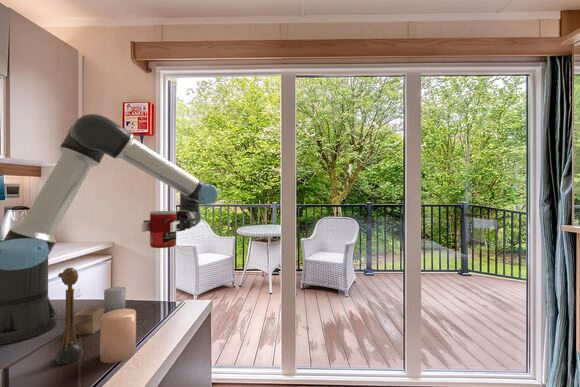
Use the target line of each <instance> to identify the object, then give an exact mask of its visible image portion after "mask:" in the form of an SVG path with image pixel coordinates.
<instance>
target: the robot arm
mask: <svg viewBox="0 0 580 387" xmlns="http://www.w3.org/2000/svg"><path fill="white" fill-rule="evenodd" d="M58 149H59V150H60V154H61V156H60V157H59V159H58V161H57V162H56V164H55V166H54V167H53V169H52V171H51V173H49V176H48V177H47V179H46V180H45V182H44V183H43V186H42V187H41V189H40V191H39V193H38V194H37V196H36V197H35V200H34V201H33V202H32V204H31V206H30V207H29V209H28V211H27V213H26V214H25V216H24V218H23V219H22V221H21V223H20V224H19V225H17V226H14V227H10V229H9V230H8V231H7V233H6V235H5V237H4V239H3V240H2V241H0V345H6V344H10V343H12V344H13V343H16V342H21V341H24V340H25V341H26V340H27V339H30V338H33V337H36V336H38V335H42V334H43V333H46V332H48V331H49V330H51V329H52V328H54V327H55V326H56V324H57V313H56V312H55V309H54V306H53V304H52V302H51V299H50V297H49V255H50V254H51V252H52V250H53V248H54V247H55V245H56V243H57V240H56V238H55V233H56V231H57V229H58V227H59V226H60V224H61V222H62V220H63V219H64V217H65V215H66V213H67V211H68V210H69V208H70V207H71V204H72V203H73V200H74V199H75V197H76V195H77V194H78V192H79V190H80V188H81V186H82V185H83V182H85V179H86V178H87V176H88V175H89V174H88V173H89V172H90V171H91V168H93V167H97V166H99V165H100V164H101V161H102V159H103V158H104V156H105V155H107V156H109V157H111V158H113V159H114V160H115V159H116V160H117V159H122V161H125V162H127V163H128V164H130V165H132V166H133V167H136V168H137V169H139V170H141V171H143V172H144V173H146V174H147V175H149V176H150V177H151V176H152V177H153V178H154V179H156V180H158V181H160V182H161V183H164V185H167V186H169V187H171V189H173V190H175V191H177V192H179V200H180V202H179V203H180V205H179V210H175V211H176V213H177V221H176V222H173V223H170V232H174V231H176V232H184V231H186V230H190V229H192V228H193V227H194V228H195V227H196V226H197V225H198V224H199V223H200V222H201V221H202V212H200V205H204V206H206V205H212V204H213V203H215V202H216V201H217V199H218V197H219V192H218V189H217V188H216V186H214V185H213V184H210V183H205V182H203V181H202V180H200V179H198V178H197V177H195V176H193V175H192V174H191V173H189V172H187V171H186V170H184V169H183V168H181V167H180V166H178V165H176V164H175V163H173V162H171V161H170V160H168V159H166V157H163V156H162V155H161V154H159V153H157V152H155V151H154V150H152V149H151V148H149V147H148V146H147V145H145V144H143V143H142V142H140V141H138V140H137V139H136V138H134V134H133V133H132V132H130V131H129V130H127V129H126V128H125V127H122V126H121V125H119V124H118V123H116V122H115V121H113V120H111V118H108V117H106V116H104V115H101V114H96V113H89V114H85V115H84V114H83V115H82V116H80V117H79V118H77V119H76V120H75V122H74V123H73V124H72V125H71V126H70V128H69V129H68V131H67V134H66V136H65V138H64V139H63V141H62V142H61V144H60V146H59V148H58ZM145 232H150V219H147V220H145V219H144V220H143V222H142V223H141V233H145ZM53 326H54V327H53Z"/></svg>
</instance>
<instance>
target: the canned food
mask: <svg viewBox="0 0 580 387" xmlns="http://www.w3.org/2000/svg"><path fill="white" fill-rule="evenodd" d="M176 211H177V210H156V211H155V210H153V211H150V214H149V220H150V231H149V245H150V248H153V249H165V248H167V249H168V248H174V247H176V245H177V231H174V232H170V223H173V222H176V221H177V213H176Z"/></svg>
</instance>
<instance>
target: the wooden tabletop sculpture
mask: <svg viewBox="0 0 580 387" xmlns="http://www.w3.org/2000/svg"><path fill="white" fill-rule="evenodd" d="M57 276H58V278H61V282H62V283H63V285H64V286H67V289H65V317H64V318H65V320H64V321H65V322H64V330H63V338H62V344H61V347H60V348H59V350H58V352H57V354H56V356H55V357H56V358H55V363H56V364H57V365H69V364H72V363H75V362H77V361H78V360H80V359H81V358H83V356H84V349H83V346H82V345H81V344H80V343H78V341H77V334H75V326H74V313H75V311H74V310H75V307H74V306H75V305H74V304H75V303H74V302H75V301H74V297H75V296H74V295H75V294H74V292H75V288H73V286H74V285H75V284H76V283H77V282H78V279H79V273H78V271H77V269H76V268H74V267H67V268H64V270H63V271H62V272H59V273H58V275H57ZM65 341H66V342H65Z"/></svg>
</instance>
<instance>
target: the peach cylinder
mask: <svg viewBox="0 0 580 387" xmlns="http://www.w3.org/2000/svg"><path fill="white" fill-rule="evenodd" d="M99 332H100V334H99V335H100V336H99V337H100V338H99V346H100V347H99V360H100V362H101V363H105V364H116V363H120V362H124V361H126V360H128V359H130V358H132V357H133V356H134V355H135V354H136V351H137V350H136V349H137V311H136V310H135V309H133V308H125V309H118V310H113V311H110V312H107V313H105V314H103V315H102V316H101V317H100V329H99Z"/></svg>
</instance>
